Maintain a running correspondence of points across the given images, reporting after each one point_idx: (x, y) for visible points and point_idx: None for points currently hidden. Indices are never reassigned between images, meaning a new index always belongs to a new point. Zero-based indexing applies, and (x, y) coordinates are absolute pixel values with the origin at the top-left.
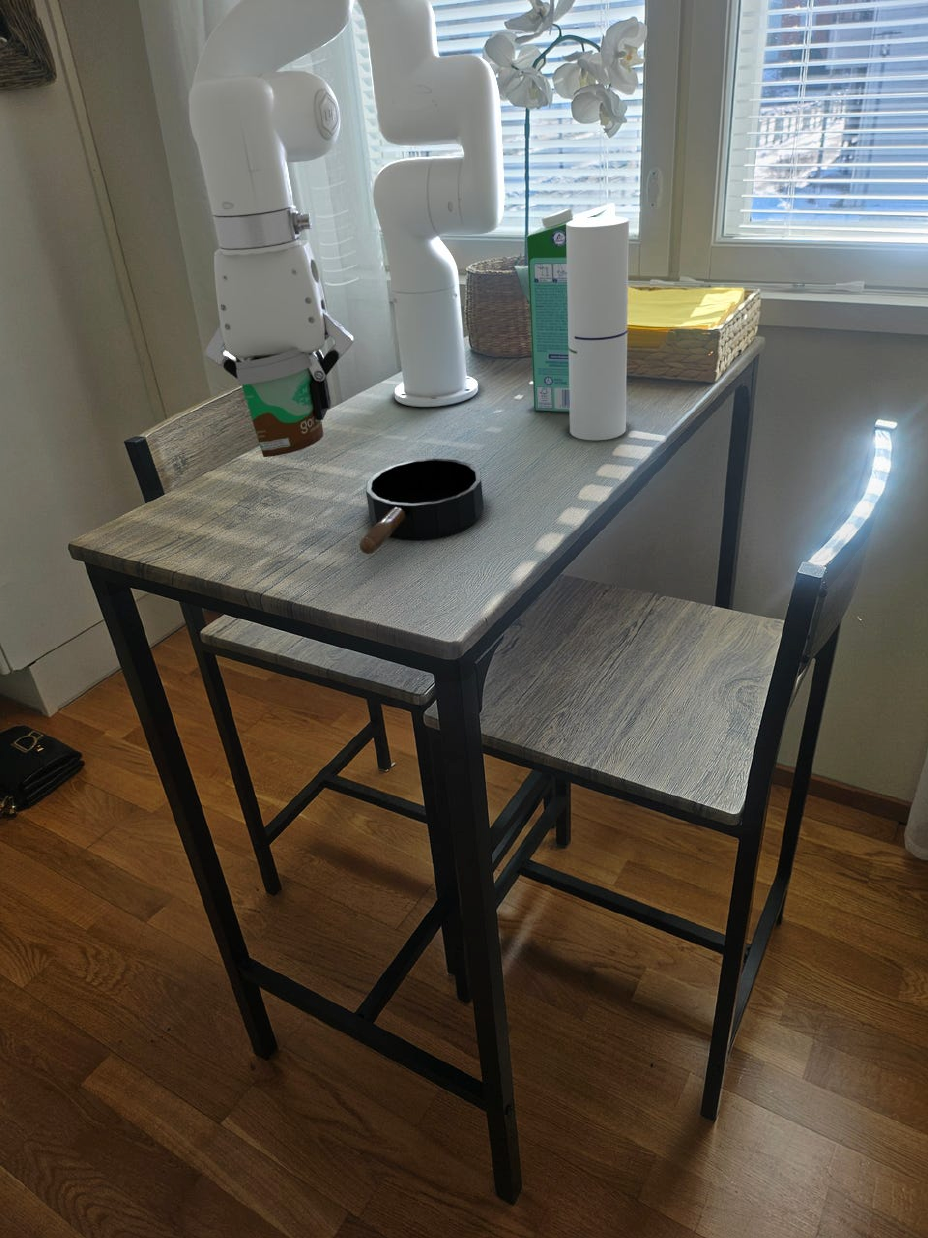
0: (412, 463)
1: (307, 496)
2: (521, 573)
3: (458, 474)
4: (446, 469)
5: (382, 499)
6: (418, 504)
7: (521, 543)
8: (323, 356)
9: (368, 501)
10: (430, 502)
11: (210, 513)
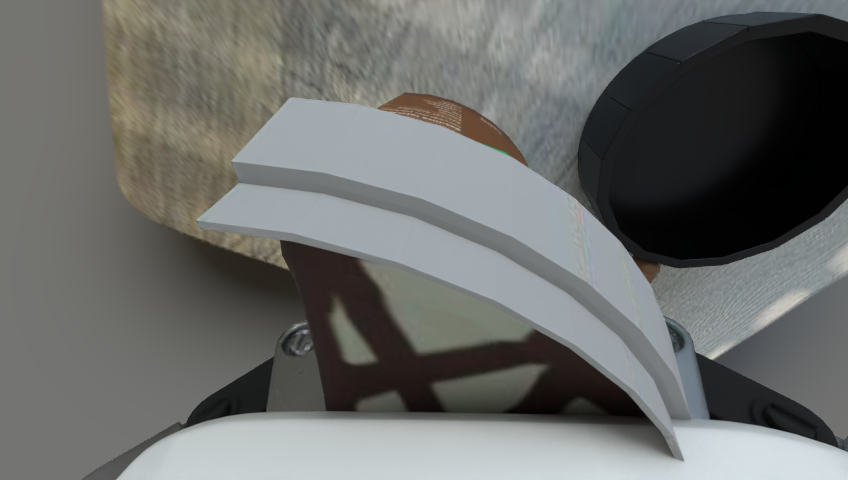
0: (737, 45)
1: (424, 29)
2: (774, 313)
3: (840, 55)
4: (821, 38)
5: (628, 241)
6: (693, 265)
7: (817, 247)
8: (701, 389)
9: (593, 201)
10: (718, 260)
11: (254, 109)
